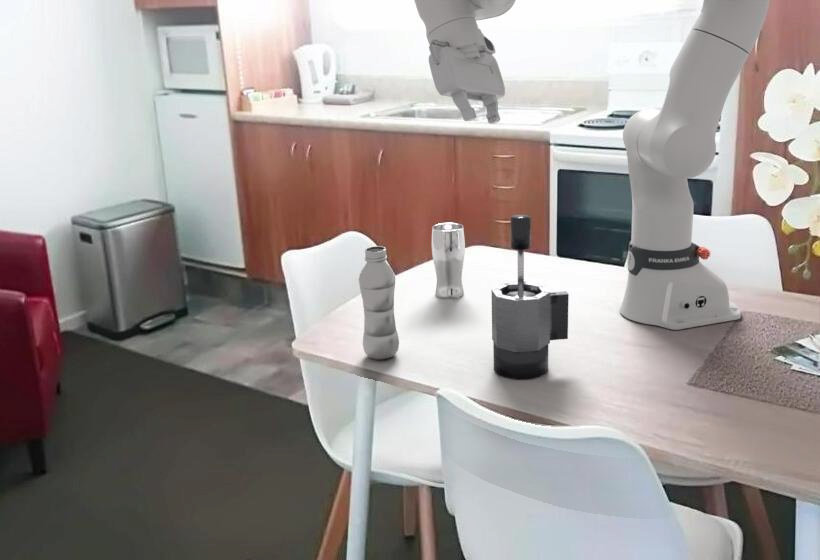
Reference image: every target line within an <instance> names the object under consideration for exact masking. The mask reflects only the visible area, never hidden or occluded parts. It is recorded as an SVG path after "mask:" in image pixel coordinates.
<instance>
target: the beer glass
mask: <svg viewBox="0 0 820 560" xmlns="http://www.w3.org/2000/svg"><path fill="white" fill-rule="evenodd" d="M431 229H432V230H431V254H432V260H433V265H434V270H435V274H436V287H435V296H436V297H437V298H439V299H441V300H442V299H443V300H454V299H460V298H462V297H463V296H464V294H465V291H464V287H463V280H462V277H463V275H462V274H463V269H464V261H465V254H466V253H465V252H466V242H465V241H466V239H465V232H464V231H465V230H464V225H463V224H461V223H458V222H457V223H456V222H442V223H441V222H440V223H438V224H434V225H433V226H431Z"/></svg>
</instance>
